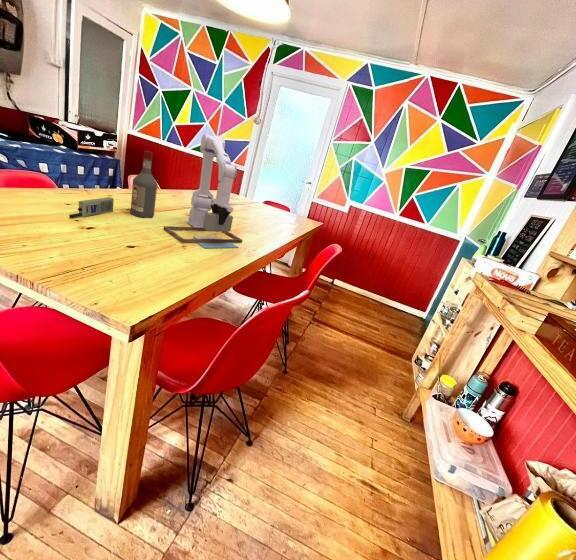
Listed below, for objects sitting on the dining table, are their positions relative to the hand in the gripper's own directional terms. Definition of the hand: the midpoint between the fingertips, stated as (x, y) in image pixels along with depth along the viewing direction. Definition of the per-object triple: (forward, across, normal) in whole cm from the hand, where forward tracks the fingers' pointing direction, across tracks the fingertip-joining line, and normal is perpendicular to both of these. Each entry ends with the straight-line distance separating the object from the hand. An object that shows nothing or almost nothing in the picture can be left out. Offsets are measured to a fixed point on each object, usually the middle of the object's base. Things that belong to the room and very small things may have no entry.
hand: (218, 223), depth 143 cm
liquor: (+10, -39, -17) cm, 43 cm away
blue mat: (+10, +3, 0) cm, 10 cm away
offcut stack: (+10, -5, 0) cm, 11 cm away
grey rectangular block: (+3, 0, 0) cm, 3 cm away
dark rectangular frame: (+10, -9, 0) cm, 13 cm away
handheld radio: (+10, -35, -40) cm, 54 cm away
